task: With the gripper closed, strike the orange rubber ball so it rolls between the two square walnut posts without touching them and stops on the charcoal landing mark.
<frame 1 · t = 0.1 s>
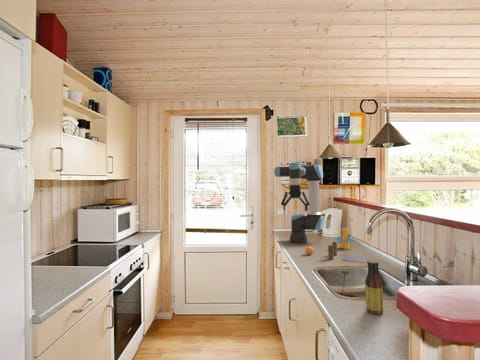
hand: (295, 215, 216), 28 cm above the worktop, tool pointing down, fingers open, 13 cm apart
post 2: (334, 254, 216), on the worktop
cylinder: (345, 248, 237), on the worktop
landing mark: (354, 259, 204), on the worktop
sauce bottle: (374, 312, 122), on the worktop
ball: (309, 250, 218), on the worktop
post 1: (330, 259, 205), on the worktop
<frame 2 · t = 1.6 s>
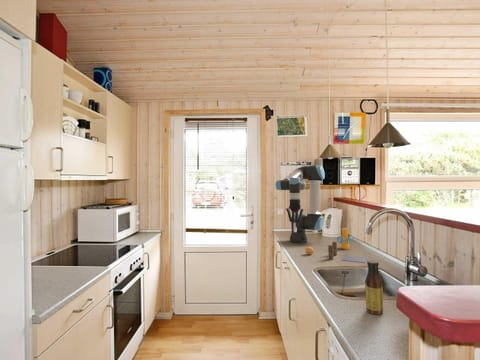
hand: (295, 231, 223), 15 cm above the worktop, tool pointing down, fingers closed
nothing on the worktop moved.
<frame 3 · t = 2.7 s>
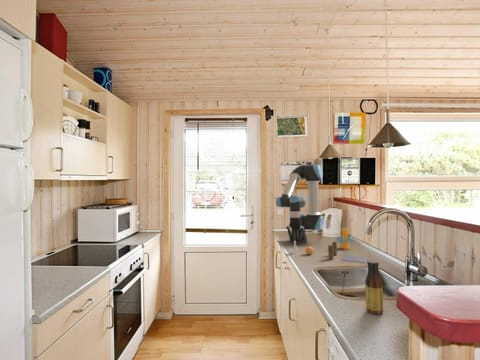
hand: (295, 250, 223), 2 cm above the worktop, tool pointing down, fingers closed
nothing on the worktop moved.
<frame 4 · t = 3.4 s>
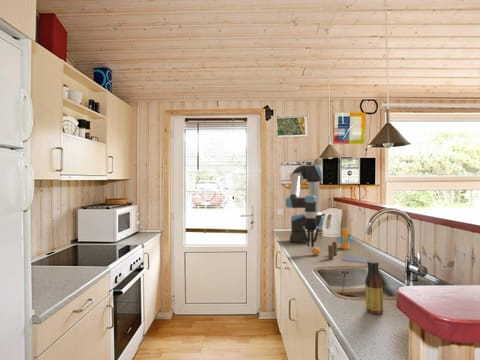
hand: (310, 251, 217), 2 cm above the worktop, tool pointing down, fingers closed
ball: (315, 251, 216), on the worktop
everything else where it was.
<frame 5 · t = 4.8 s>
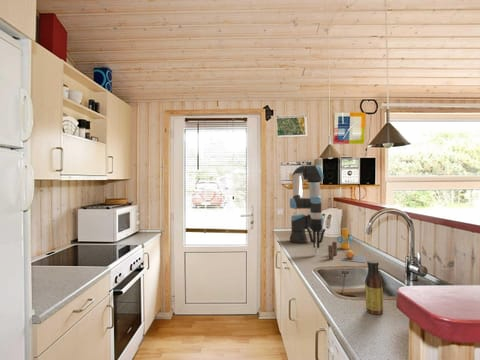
hand: (316, 252, 216), 2 cm above the worktop, tool pointing down, fingers closed
ball: (349, 254, 205), on the worktop
everything else where it was.
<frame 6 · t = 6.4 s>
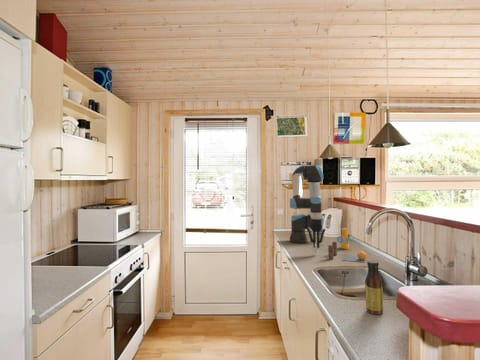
hand: (316, 252, 216), 2 cm above the worktop, tool pointing down, fingers closed
ball: (361, 255, 202), on the worktop
everything else where it was.
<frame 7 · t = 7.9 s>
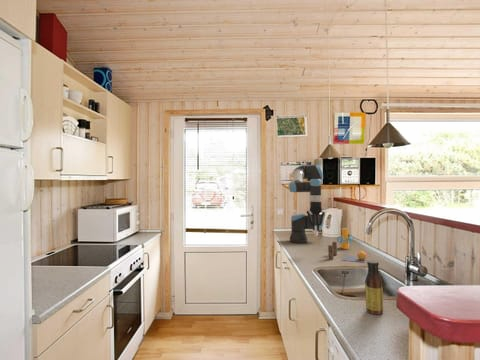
hand: (316, 235, 216), 14 cm above the worktop, tool pointing down, fingers closed
nothing on the worktop moved.
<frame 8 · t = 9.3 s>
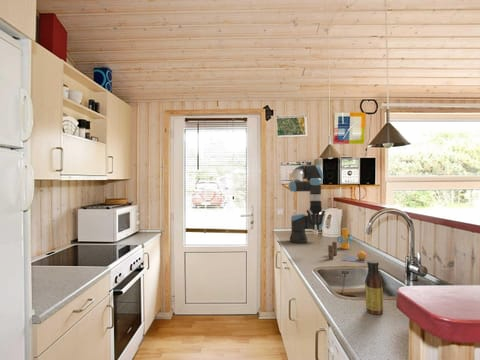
hand: (316, 234, 216), 14 cm above the worktop, tool pointing down, fingers closed
nothing on the worktop moved.
at the end: ball 4.4 cm from the landing mark (horizontally); ball never touched post 2; ball never touched post 1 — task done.
